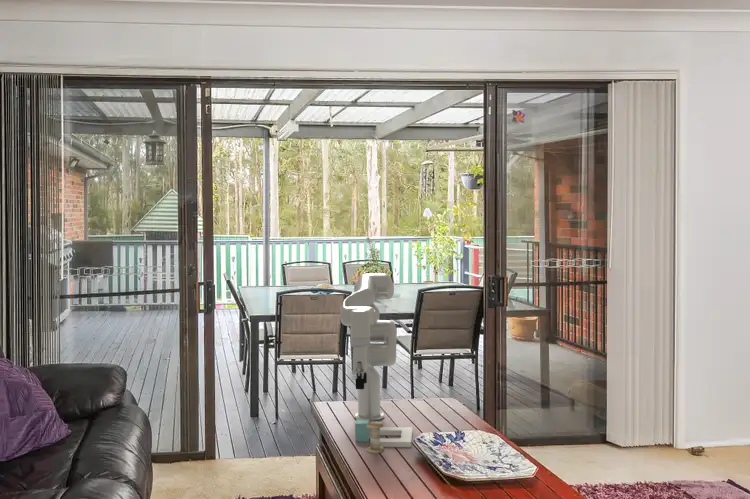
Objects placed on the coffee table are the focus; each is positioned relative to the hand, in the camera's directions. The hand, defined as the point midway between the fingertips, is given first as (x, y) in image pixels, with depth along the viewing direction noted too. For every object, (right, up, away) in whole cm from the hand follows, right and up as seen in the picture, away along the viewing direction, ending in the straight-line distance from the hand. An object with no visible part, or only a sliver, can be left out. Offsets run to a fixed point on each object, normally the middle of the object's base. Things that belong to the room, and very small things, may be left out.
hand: (361, 386), depth 291 cm
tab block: (0, -21, +2) cm, 21 cm away
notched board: (+12, -21, +1) cm, 24 cm away
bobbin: (+5, -22, -12) cm, 25 cm away
